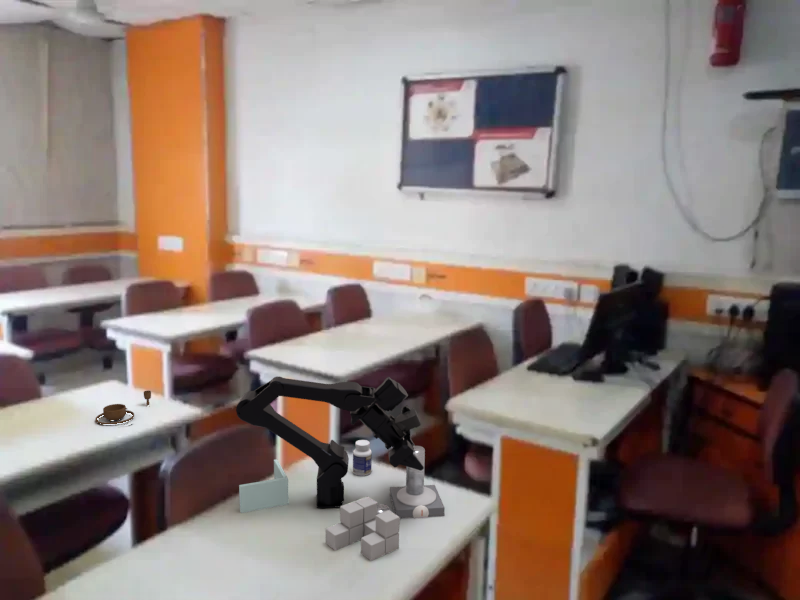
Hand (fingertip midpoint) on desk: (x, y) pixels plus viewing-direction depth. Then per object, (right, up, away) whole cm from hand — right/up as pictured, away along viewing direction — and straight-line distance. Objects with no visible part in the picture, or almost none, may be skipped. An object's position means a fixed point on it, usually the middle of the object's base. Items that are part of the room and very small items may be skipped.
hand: (421, 463), depth 165 cm
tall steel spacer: (-2, -8, +1) cm, 8 cm away
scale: (-1, -11, 0) cm, 11 cm away
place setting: (-98, +1, +55) cm, 112 cm away
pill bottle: (-16, -7, +18) cm, 25 cm away
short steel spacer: (-10, -12, -7) cm, 17 cm away
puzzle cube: (-14, -14, -18) cm, 27 cm away
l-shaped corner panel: (-42, -10, +2) cm, 43 cm away
